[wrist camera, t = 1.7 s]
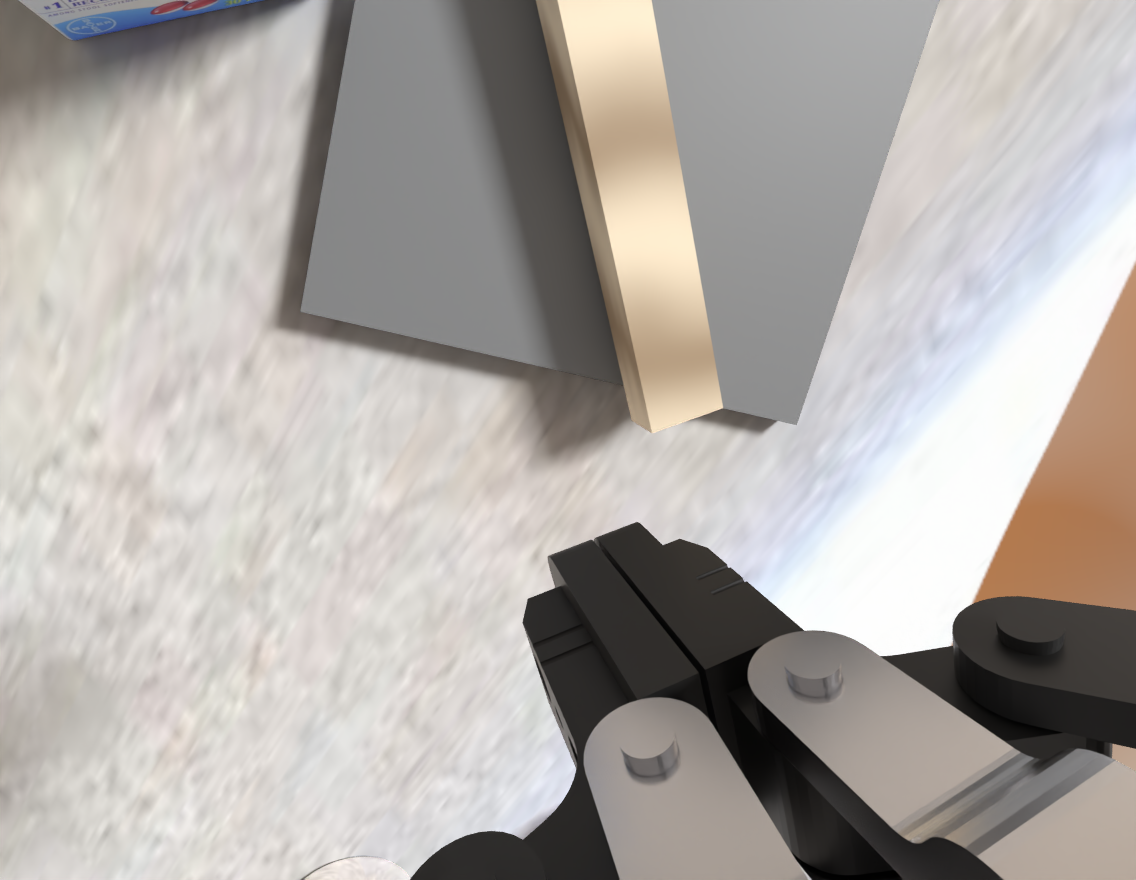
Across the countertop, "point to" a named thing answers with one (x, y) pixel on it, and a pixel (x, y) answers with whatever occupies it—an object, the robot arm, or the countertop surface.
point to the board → (551, 194)
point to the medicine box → (117, 13)
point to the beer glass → (360, 870)
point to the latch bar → (634, 203)
